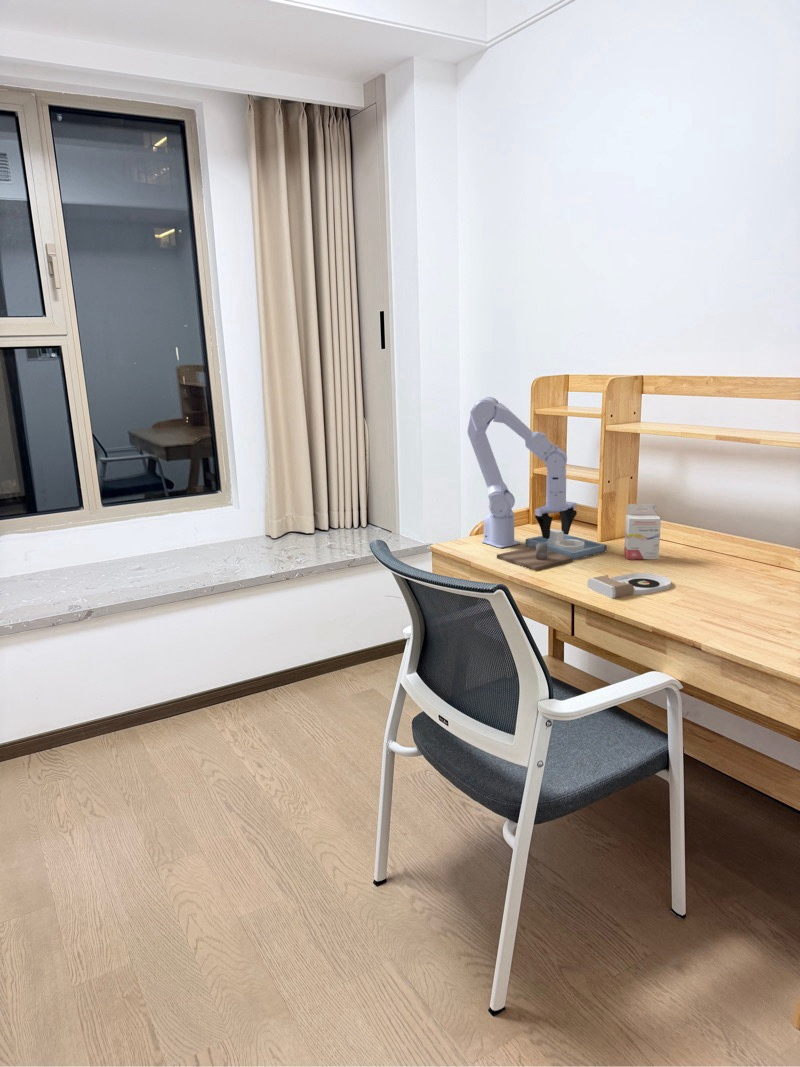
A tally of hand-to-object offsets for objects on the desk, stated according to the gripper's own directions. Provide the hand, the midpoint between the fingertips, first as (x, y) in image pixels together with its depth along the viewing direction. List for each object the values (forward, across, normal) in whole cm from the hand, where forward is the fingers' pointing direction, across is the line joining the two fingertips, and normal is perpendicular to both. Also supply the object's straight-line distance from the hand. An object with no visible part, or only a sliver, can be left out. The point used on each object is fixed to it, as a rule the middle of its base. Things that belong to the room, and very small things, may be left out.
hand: (555, 536), depth 222 cm
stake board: (+3, -14, -7) cm, 16 cm away
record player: (+4, -12, -40) cm, 42 cm away
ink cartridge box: (+3, +10, -24) cm, 26 cm away
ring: (+2, 0, -4) cm, 5 cm away
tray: (+3, 0, -4) cm, 5 cm away
